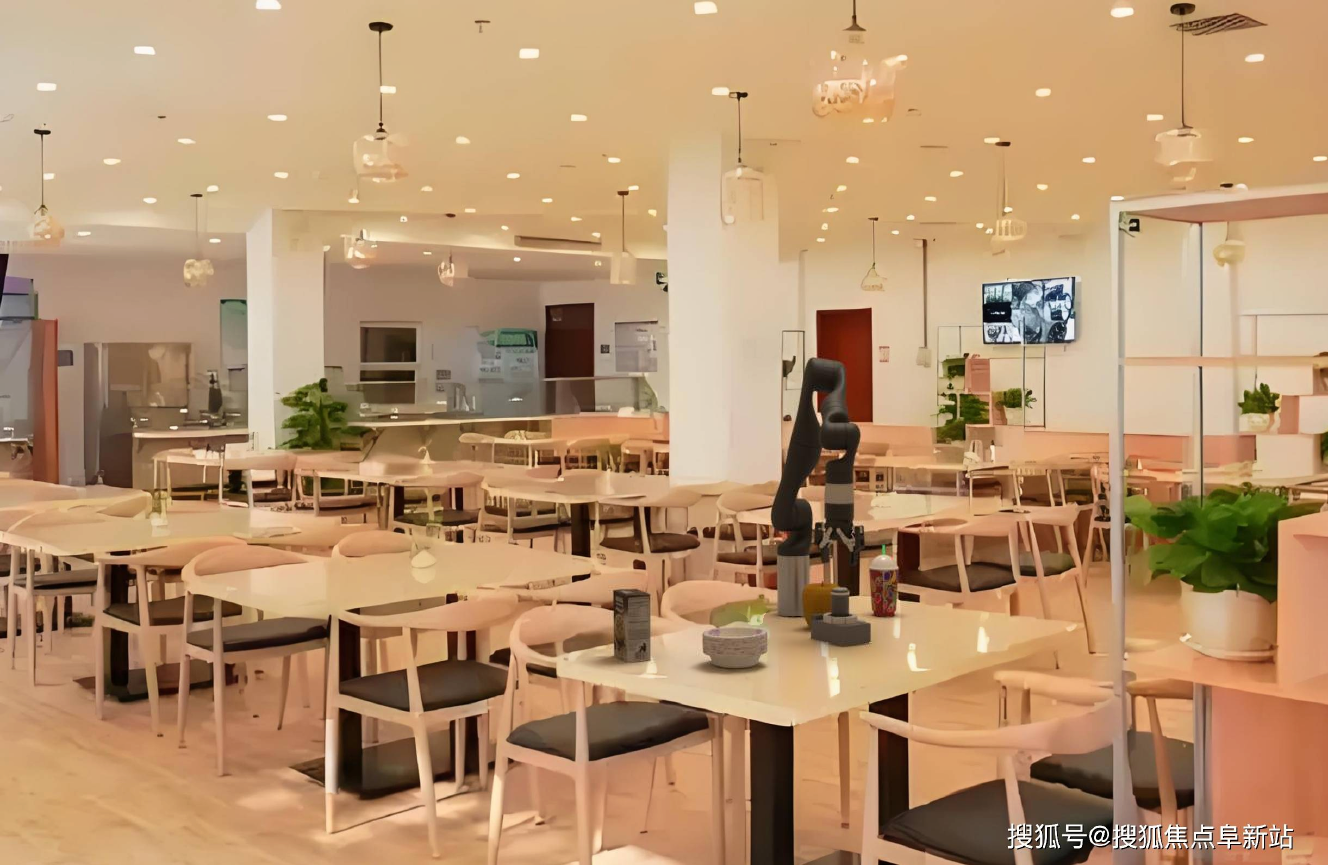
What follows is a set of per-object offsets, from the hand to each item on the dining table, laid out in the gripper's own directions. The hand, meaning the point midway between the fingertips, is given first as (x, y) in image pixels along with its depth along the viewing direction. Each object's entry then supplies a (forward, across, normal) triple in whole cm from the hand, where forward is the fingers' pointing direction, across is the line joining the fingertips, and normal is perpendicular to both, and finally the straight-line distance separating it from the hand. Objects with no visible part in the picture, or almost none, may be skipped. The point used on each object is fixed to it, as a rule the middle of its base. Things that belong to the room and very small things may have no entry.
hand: (838, 564), depth 323 cm
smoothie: (+20, +13, -39) cm, 46 cm away
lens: (+15, 0, 0) cm, 15 cm away
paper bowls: (+20, 0, +40) cm, 44 cm away
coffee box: (+20, +24, +50) cm, 59 cm away
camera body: (+20, 0, 0) cm, 20 cm away
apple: (+20, +13, -10) cm, 26 cm away
